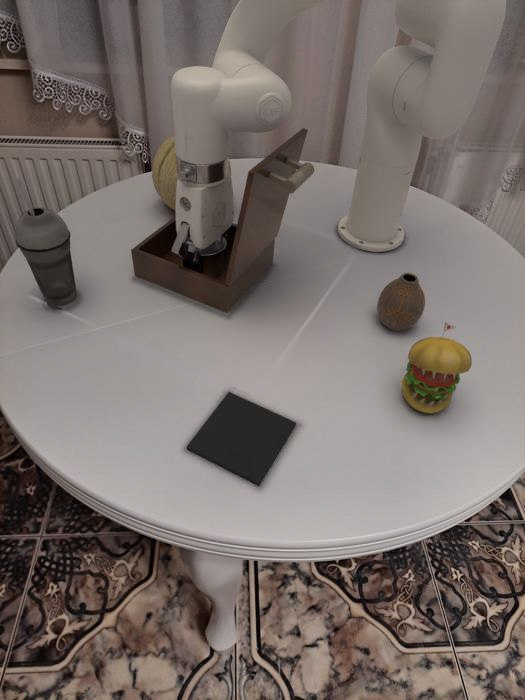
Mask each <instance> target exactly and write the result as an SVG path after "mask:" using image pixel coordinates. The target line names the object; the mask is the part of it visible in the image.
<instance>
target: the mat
mask: <svg viewBox="0 0 525 700" xmlns="http://www.w3.org/2000/svg"><path fill="white" fill-rule="evenodd" d="M296 426H297V421H294V420H292V419H289V418H288V417H285V416H283V415H281V414H278V413H276V412H274V411H273V410H270V409H268V408H265V407H263V406H261V405H259V404H256V403H255V402H252V401H251V400H248V399H246V398H243V397H241V396H239V395H237V394H235V393H233V392H230V391H227V393H226V394H225V396H224V397H223V398H222V400H221V401H220V403H219V404H218V405H217V406H216V408H215V409H214V410H213V411H212V412H211V414H210V415H209V417H208V418H207V419H206V421H205V422H204V423H203V425H202V426H201V427H200V428H199V430H198V431H197V432H196V433H195V435H194V436H193V437H192V439H191V440H190V441H189V442H188V444H187V445H186V450H187V451H189V452H192V453H193V454H195V455H197V456H199V457H202V458H203V459H205V460H206V461H209V462H210V463H213V464H215V465H216V466H219V467H220V468H223V469H224V470H227V471H229V472H230V473H232V474H234V475H236V476H238V477H240V478H242V479H244V480H246V481H248V482H249V483H251V484H254V485H256V486H258V487H259V486H260V485H262V482H263V481H264V479H265V477H266V476H267V474H268V472H269V471H270V469H271V468H272V465H273V464H274V463H275V461H276V459H277V457H278V456H279V454H280V453H281V451H282V449H283V448H284V446H285V445H286V443H287V441H288V439H289V438H290V436H291V434H292V433H293V432H294V429H295V428H296Z"/></svg>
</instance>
